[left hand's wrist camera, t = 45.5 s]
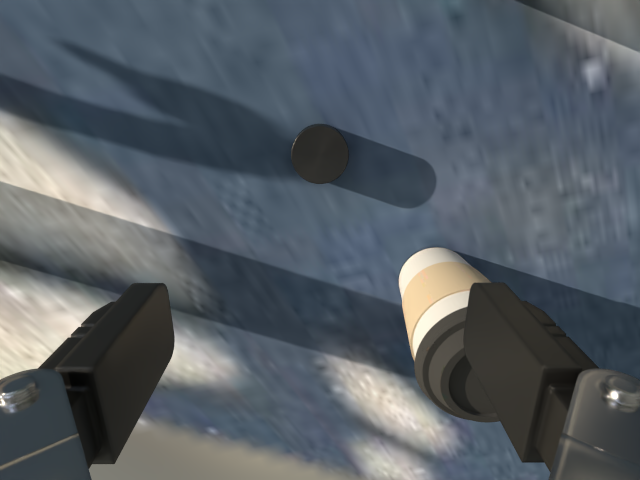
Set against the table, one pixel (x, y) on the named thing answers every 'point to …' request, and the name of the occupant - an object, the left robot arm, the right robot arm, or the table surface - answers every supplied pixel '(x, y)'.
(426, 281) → the coffee cup
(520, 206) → the table surface
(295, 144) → the lid
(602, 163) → the table surface
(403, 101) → the table surface
